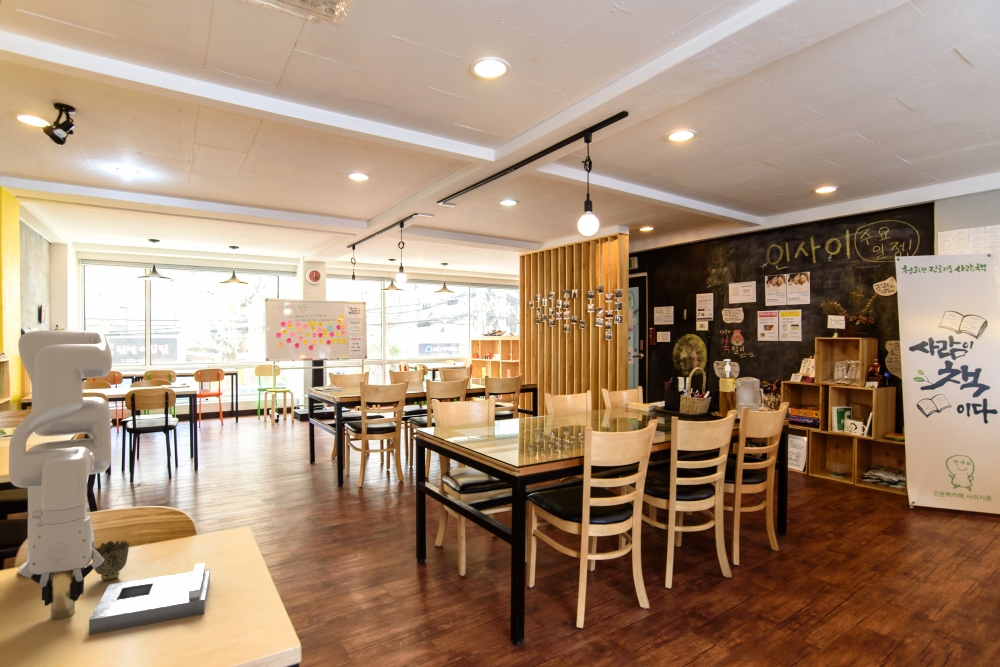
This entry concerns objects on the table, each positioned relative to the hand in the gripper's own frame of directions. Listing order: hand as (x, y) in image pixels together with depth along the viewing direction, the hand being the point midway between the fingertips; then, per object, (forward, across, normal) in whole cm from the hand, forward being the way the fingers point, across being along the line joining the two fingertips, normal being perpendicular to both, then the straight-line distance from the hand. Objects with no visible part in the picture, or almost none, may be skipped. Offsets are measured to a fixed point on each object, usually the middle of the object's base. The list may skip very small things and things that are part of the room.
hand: (63, 599), depth 112 cm
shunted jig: (+3, +17, -3) cm, 18 cm away
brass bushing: (+3, 0, 0) cm, 3 cm away
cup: (+3, +5, +16) cm, 17 cm away
